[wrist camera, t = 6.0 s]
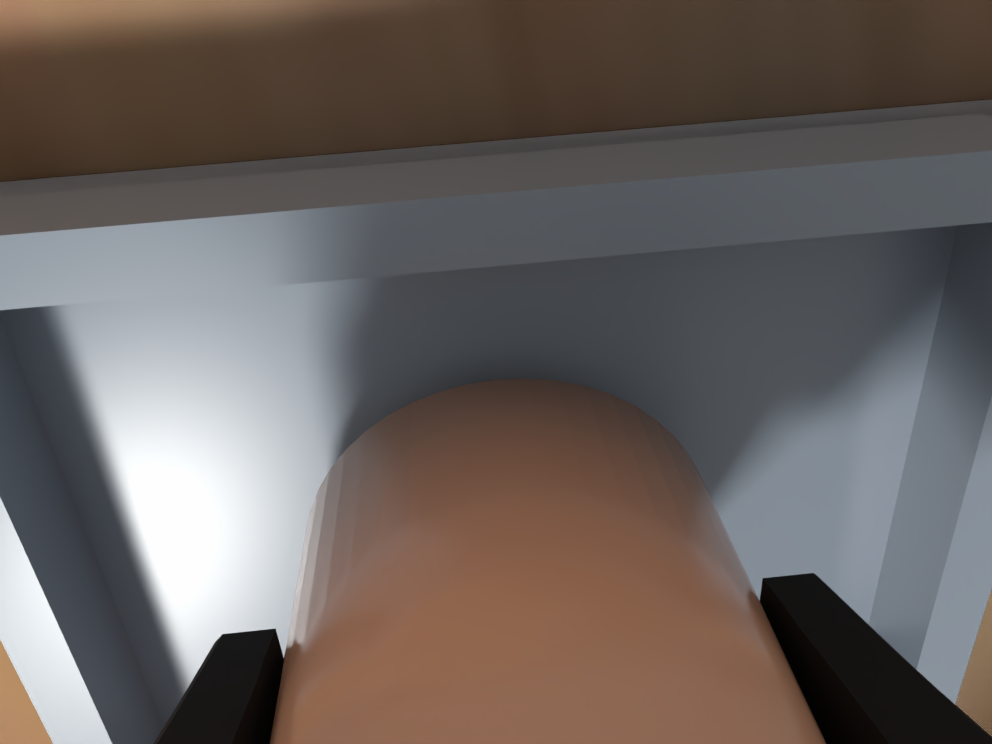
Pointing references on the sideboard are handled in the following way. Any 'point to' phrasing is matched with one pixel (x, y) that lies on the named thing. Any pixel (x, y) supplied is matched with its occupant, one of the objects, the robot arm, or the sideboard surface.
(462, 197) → the tray
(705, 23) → the sideboard surface
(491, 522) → the cup
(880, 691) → the robot arm
